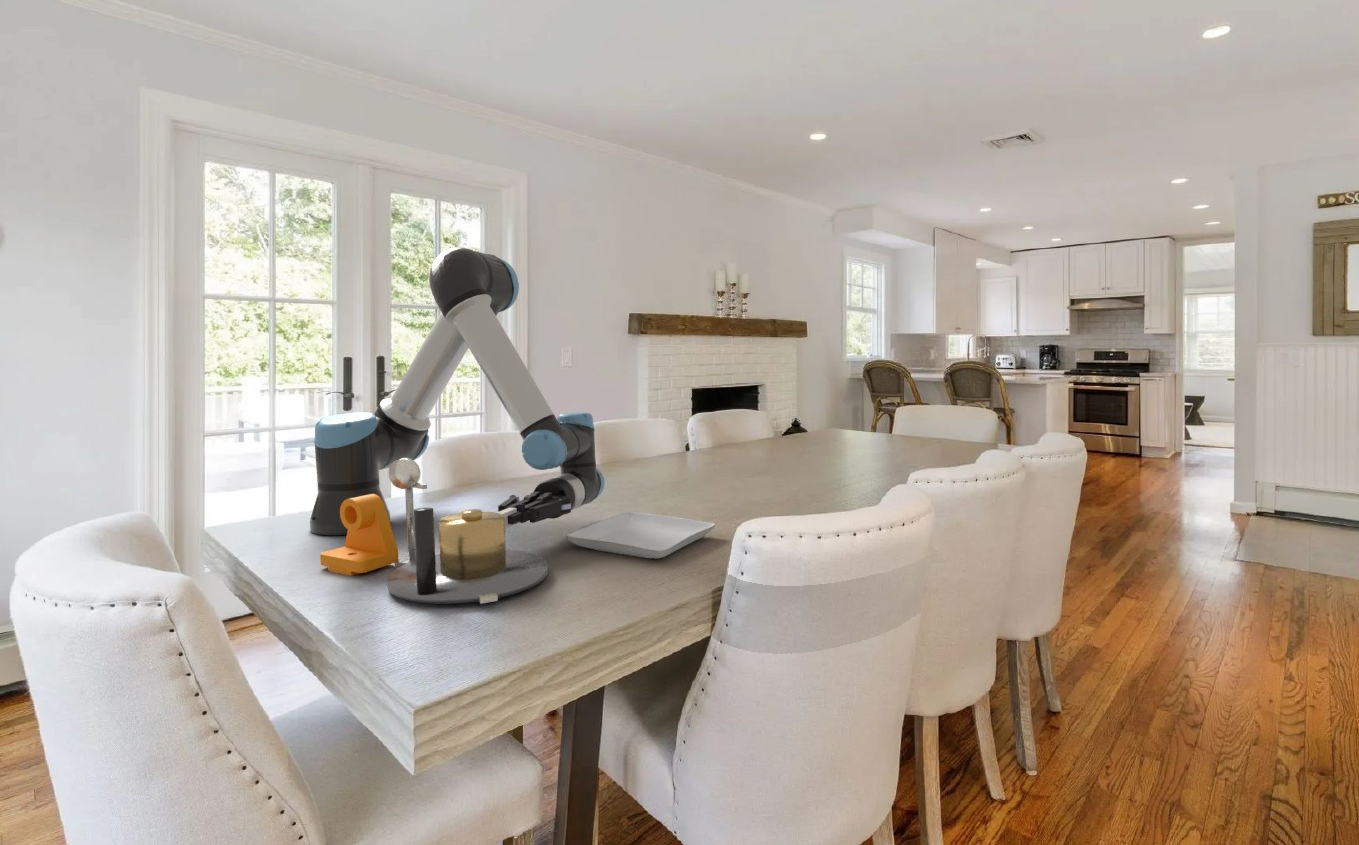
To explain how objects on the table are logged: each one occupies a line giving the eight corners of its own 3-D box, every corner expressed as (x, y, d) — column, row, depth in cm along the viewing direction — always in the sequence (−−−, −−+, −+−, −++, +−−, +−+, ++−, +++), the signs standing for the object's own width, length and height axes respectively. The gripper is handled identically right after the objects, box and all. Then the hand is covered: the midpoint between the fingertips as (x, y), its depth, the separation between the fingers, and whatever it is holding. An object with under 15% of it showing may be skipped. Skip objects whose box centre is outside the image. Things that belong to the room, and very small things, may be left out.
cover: (428, 577, 105) (426, 517, 105) (457, 558, 115) (455, 503, 114) (491, 579, 104) (490, 519, 103) (515, 560, 114) (513, 505, 113)
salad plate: (663, 568, 116) (662, 548, 116) (563, 551, 127) (562, 533, 126) (718, 539, 135) (718, 521, 134) (626, 526, 145) (626, 510, 145)
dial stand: (390, 569, 116) (385, 459, 114) (404, 561, 120) (399, 455, 118) (428, 570, 115) (424, 459, 113) (441, 562, 119) (436, 456, 117)
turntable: (354, 600, 99) (349, 510, 97) (434, 552, 122) (431, 480, 121) (516, 606, 95) (513, 514, 94) (566, 556, 119) (564, 482, 118)
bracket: (318, 569, 116) (314, 498, 115) (355, 558, 122) (352, 491, 121) (361, 578, 111) (358, 504, 110) (398, 566, 117) (395, 496, 116)
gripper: (589, 516, 135) (528, 549, 113) (529, 512, 139) (459, 543, 116) (588, 478, 134) (527, 504, 112) (528, 475, 138) (457, 499, 116)
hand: (492, 524), depth 114 cm, fingers closed
